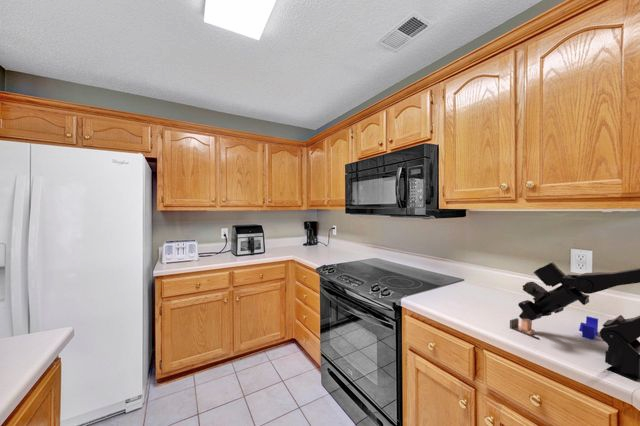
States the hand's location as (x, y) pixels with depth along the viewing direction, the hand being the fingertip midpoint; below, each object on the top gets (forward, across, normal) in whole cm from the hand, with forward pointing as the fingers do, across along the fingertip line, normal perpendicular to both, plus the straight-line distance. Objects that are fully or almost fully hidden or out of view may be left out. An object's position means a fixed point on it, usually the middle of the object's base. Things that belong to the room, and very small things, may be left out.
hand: (522, 316), depth 100 cm
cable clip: (-3, -21, +13) cm, 25 cm away
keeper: (+3, 0, +5) cm, 5 cm away
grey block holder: (+3, 0, +6) cm, 7 cm away
